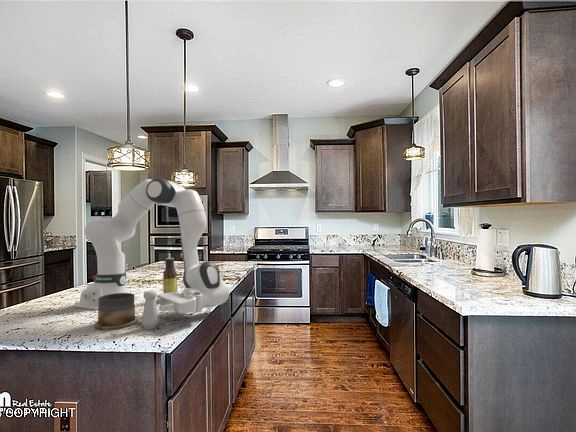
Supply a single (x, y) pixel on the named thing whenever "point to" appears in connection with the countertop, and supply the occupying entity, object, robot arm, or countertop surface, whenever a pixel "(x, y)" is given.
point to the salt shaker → (150, 311)
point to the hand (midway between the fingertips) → (154, 305)
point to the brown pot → (116, 311)
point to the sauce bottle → (169, 277)
